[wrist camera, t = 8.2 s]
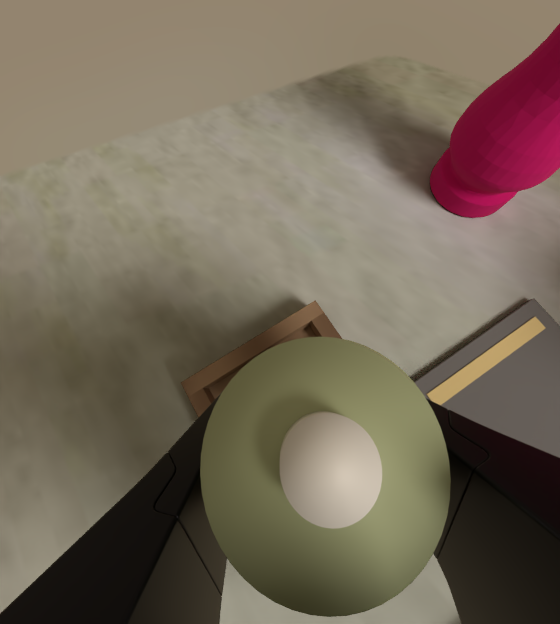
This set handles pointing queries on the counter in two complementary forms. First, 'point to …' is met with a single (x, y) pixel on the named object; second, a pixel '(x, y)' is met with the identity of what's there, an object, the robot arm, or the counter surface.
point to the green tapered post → (325, 476)
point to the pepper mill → (504, 138)
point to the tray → (255, 354)
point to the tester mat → (506, 378)
